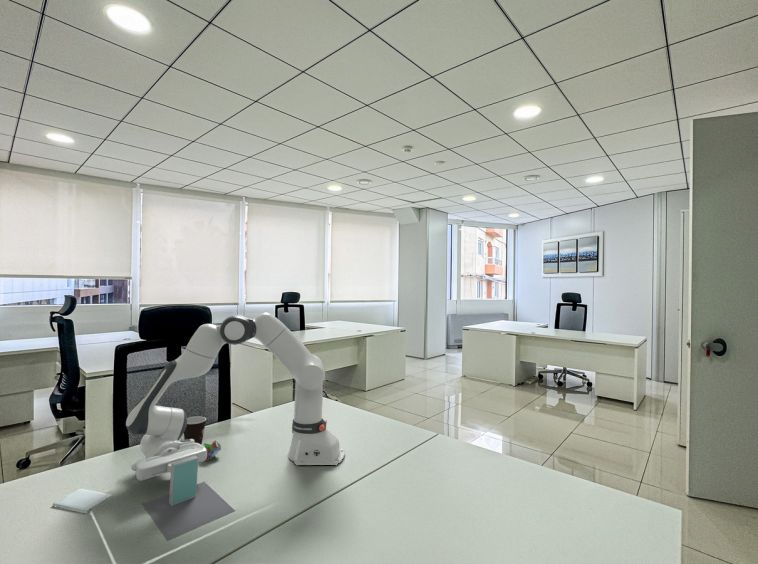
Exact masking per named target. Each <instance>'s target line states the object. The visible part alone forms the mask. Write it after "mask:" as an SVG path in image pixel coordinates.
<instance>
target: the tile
mask: <svg viewBox="0 0 758 564" xmlns="http://www.w3.org/2000/svg"><path fill="white" fill-rule="evenodd" d="M198 468H199V463H198V457H197V456H192V457H189V458H186V459H182V460H179V461H176V462H172V463H171V472H170V481H169V494H170V496H169V504H170V505H171V506H173V505H175V504H178V503H181V502H183V501H186V500H189V499H191V498H194V497H196V490H197V484H198Z"/></svg>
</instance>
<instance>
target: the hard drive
mask: <svg viewBox="0 0 758 564" xmlns="http://www.w3.org/2000/svg"><path fill="white" fill-rule="evenodd" d="M113 496H114V494H109V493H104V492H100V491H95V490H90V489H85V488H78V489H76V490H75V491H73V492H71V493H69V494H66V495H65V496H63V497H61V498H60V499H57V500H55V501H54V502H53V503H52V507H53V506H56V507H55V508H58V507H60V508H59V509H62V508H64V509H63V510H67V509H68V510H69V511H72V512H77V513H83V514H88V513H90V512H92V511H93V508H96V507H97V506H98V505H100V504H102V503H103V502H105V501H107V500H108V499H111V498H112V497H113Z"/></svg>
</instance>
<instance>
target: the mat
mask: <svg viewBox="0 0 758 564" xmlns="http://www.w3.org/2000/svg"><path fill="white" fill-rule="evenodd" d="M169 496H170V493H168V494H166V495H162V496H160V497H157V498H154V499H151V500H149V501H146V502H143V503H142V504H141V505H142V506H143V507H144V509H145V510H146V511H147V514H148V515H149V517H151V519H152V520H153V522H154V523H155V525H156V527H157V528H158V529H159V531H160V532H161V533H162V535H163V537H164V538H165V540H166V541H171V540H173V539H176V538H178V537H179V536H180V537H181V536H182V535H184V534H186V533H189V532H190V531H193V530H196V529H197V528H200V527H202V526H205V525H206V524H210V523H211V522H213V521H215V520H218V519H220V518H223V517H225V516H228V515H229V514H232V513H234V512H236V510H235V509H234V508H233V507H232V506H231V505H230V504H229V503H228V502H227V501H225V499H224V498H223V497H221V496H220V495H219V494H218V493H217V492H216V491H215V490H214V489H213V488H212V487H211V486H210V485H208V483H207V482H206V481H203V482H202V481H201V482H200V483H197V490H196V497H194V498H191V499H189V500H186V501H183V502H181V503H178V504H175V505H173V506H171V505H170V504H169Z"/></svg>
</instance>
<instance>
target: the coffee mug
mask: <svg viewBox="0 0 758 564" xmlns="http://www.w3.org/2000/svg"><path fill="white" fill-rule="evenodd" d="M206 423H207V418H206V417H205V416H190V417H187V426H186V429H185V431H184V433H183V437H184V438H183V440H187V439H193V440H194V442H195V443H199V444H201V445H202V444H203V440H204V439H203V438H204V435H205V428H206Z"/></svg>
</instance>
